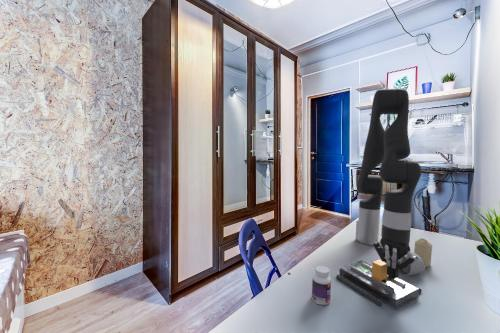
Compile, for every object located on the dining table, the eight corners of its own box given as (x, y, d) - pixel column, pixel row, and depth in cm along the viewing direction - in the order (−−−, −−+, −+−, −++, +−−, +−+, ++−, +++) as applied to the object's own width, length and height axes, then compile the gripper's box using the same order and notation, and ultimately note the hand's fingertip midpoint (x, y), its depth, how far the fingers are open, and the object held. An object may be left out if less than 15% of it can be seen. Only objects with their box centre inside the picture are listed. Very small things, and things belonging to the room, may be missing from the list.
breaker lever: (371, 276, 77) (372, 261, 76) (378, 273, 79) (379, 259, 78) (380, 280, 74) (381, 266, 74) (387, 277, 76) (388, 263, 76)
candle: (433, 267, 90) (435, 243, 89) (417, 266, 91) (419, 241, 90) (425, 261, 95) (427, 237, 94) (410, 259, 96) (412, 236, 95)
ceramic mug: (425, 276, 84) (427, 255, 83) (410, 280, 81) (411, 259, 81) (398, 262, 94) (399, 244, 93) (383, 266, 91) (384, 247, 90)
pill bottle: (330, 307, 67) (332, 275, 66) (311, 303, 68) (312, 272, 68) (329, 295, 72) (330, 265, 71) (311, 292, 74) (312, 263, 73)
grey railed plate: (335, 278, 82) (336, 275, 82) (370, 266, 90) (370, 263, 90) (386, 310, 66) (386, 306, 66) (421, 292, 75) (421, 288, 74)
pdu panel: (339, 275, 84) (339, 264, 83) (361, 267, 89) (361, 257, 89) (395, 309, 66) (396, 296, 66) (418, 297, 72) (419, 285, 71)
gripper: (368, 220, 76) (365, 270, 77) (412, 233, 64) (408, 293, 65) (382, 217, 79) (379, 265, 81) (426, 229, 67) (422, 285, 69)
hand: (392, 277), depth 73 cm, fingers closed
